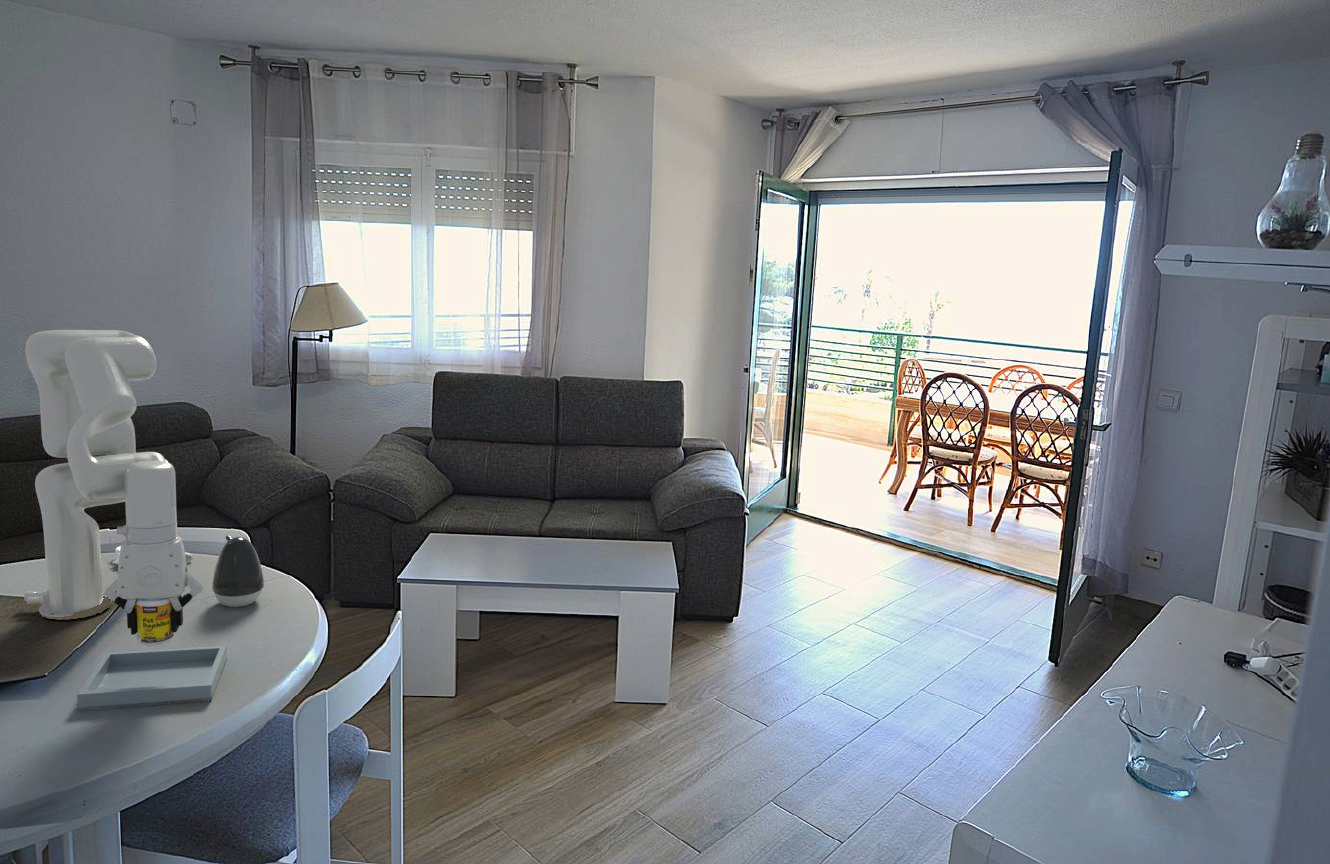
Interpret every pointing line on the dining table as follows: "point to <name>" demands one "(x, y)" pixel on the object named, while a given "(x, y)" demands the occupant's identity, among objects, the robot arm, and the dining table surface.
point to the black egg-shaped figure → (237, 573)
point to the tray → (153, 678)
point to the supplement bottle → (154, 621)
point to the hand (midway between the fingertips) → (155, 629)
